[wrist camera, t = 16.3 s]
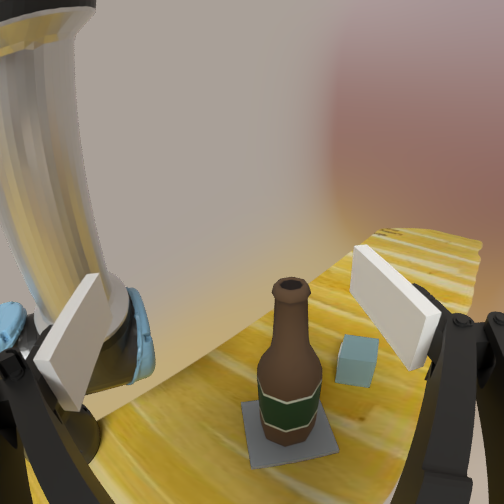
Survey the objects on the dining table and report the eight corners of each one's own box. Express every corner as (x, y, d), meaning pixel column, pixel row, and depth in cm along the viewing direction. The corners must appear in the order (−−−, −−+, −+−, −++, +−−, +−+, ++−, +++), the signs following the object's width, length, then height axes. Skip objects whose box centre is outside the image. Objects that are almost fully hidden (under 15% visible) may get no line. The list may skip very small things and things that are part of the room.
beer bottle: (249, 423, 40) (234, 281, 30) (290, 399, 44) (293, 258, 34) (283, 458, 34) (287, 317, 24) (325, 428, 38) (348, 284, 28)
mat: (251, 469, 33) (250, 467, 33) (241, 405, 44) (240, 402, 44) (338, 452, 34) (339, 449, 34) (315, 393, 45) (316, 390, 45)
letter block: (372, 364, 50) (378, 339, 48) (369, 388, 45) (376, 362, 43) (339, 359, 52) (343, 334, 50) (333, 382, 47) (337, 357, 45)
